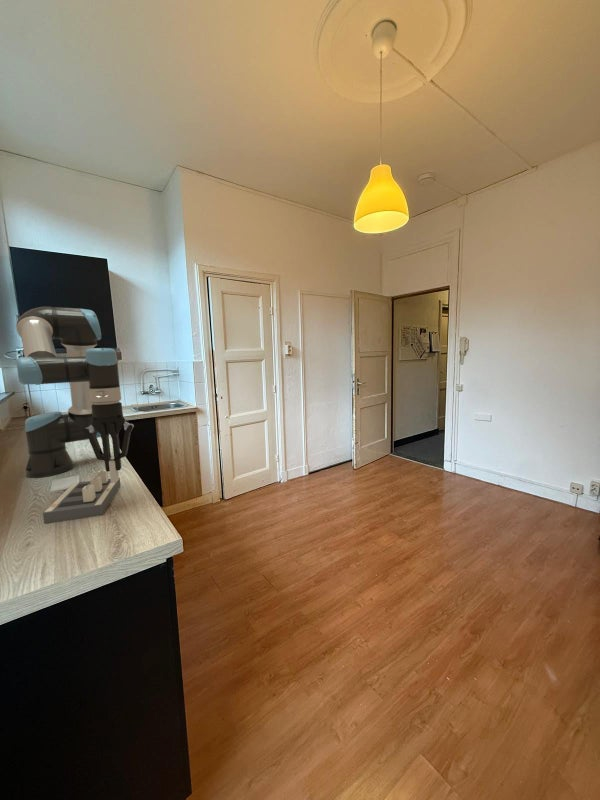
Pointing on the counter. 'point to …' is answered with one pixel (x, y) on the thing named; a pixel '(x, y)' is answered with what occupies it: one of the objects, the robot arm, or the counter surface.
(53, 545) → the counter surface
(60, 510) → the switch panel
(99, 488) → the tab
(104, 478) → the tab
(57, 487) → the hard drive
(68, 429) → the robot arm
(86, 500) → the tab
